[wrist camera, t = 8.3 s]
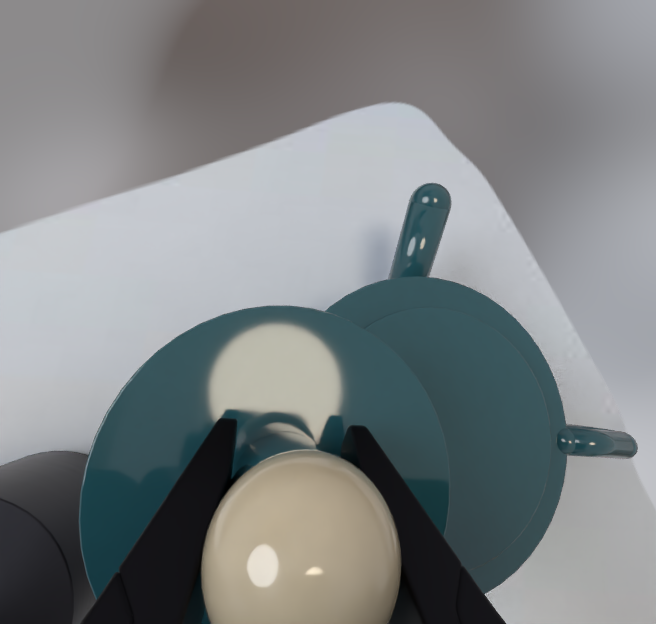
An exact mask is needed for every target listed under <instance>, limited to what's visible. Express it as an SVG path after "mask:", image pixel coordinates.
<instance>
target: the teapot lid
mask: <svg viewBox="0 0 656 624" xmlns="http://www.w3.org/2000/svg"><path fill="white" fill-rule="evenodd" d="M220 418H235V419H237V422H238V423H237V434H236V444H235V453H234V461H233V469H232V477H231V483H230V488H229V490H228V491H227V492H226V494H225V495H224V497H223V498H222V500H221V501H220V503H219V505H218V507H217V509H216V511H215V513H214V515H213V517H212V520H211V522H210V525H209V527H208V530H207V533H206V537H205V541H204V545H203V553H202V560H201V587H202V596H203V602H204V606H205V610H204V614H203V618H202V622H201V624H389V622H390V620H391V617H392V615H393V612H394V609H395V606H396V602H397V598H398V593H399V587H400V580H401V566H402V562H401V548H400V542H399V536H398V531H397V528H396V524H395V521H394V518H393V516H392V513H391V511H390V509H389V507H388V504H387V502H386V500H385V499H384V497H383V495H382V494H381V492H380V491H379V489H378V488H377V487H376V486H375V484H374V483H373V482H372V481H371V480H370V478H369V477H368V476H367V475H366V474H365V473H364V472H362V471H361V470H360V469H359V468H358V467H356V466H355V465H353V464H352V463H350V462H349V461H347V460H345V459H343V458H341V446H342V443H343V440H344V437H345V434H346V431H347V428H348V427H349V426H350V425H362V426H365V427H367V428H368V430H369V431H370V433H371V434H372V435H373V437H374V438H375V440H376V441H377V443H378V444H379V445H380V447H381V448H382V450H383V451H384V453H385V454H386V455H387V457H388V458H389V460H390V461H391V463H392V464H393V465H394V467H395V468H396V470H397V471H398V473H399V474H400V475H401V477H402V478H403V480H404V481H405V483H406V484H407V485H408V487H409V488H410V490H411V491H412V493H413V494H414V495H415V497H416V498H417V500H418V501H419V503H420V504H421V505H422V507H423V508H424V510H425V511H426V513H427V514H428V515H429V517H430V518H431V520H432V521H433V523H434V524H435V525H436V527H437V528H438V530H439V531H440V533H441V534H442V535H443V537H444V536H445V532H446V528H447V522H448V515H449V507H450V482H451V480H450V469H449V458H448V453H447V448H446V443H445V438H444V434H443V431H442V428H441V425H440V422H439V419H438V416H437V413H436V411H435V409H434V407H433V405H432V403H431V400H430V398H429V396H428V394H427V392H426V391H425V389H424V388H423V386H422V384H421V383H420V381H419V380H418V378H417V376H416V375H415V374H414V373H413V371H412V370H411V369H410V368H409V366H408V365H407V364H406V363H405V361H404V360H403V359H402V358H401V357H400V356H399V355H398V354H397V353H396V352H395V351H394V350H393V349H392V348H391V347H389V346H388V345H387V344H386V343H385V342H383V341H382V340H381V339H379V338H378V337H377V336H375V335H374V334H373V333H371V332H370V331H368V330H366V329H364V328H363V327H361V326H359V325H357V324H355V323H354V322H352V321H349V320H347V319H344V318H342V317H339V316H337V315H334V314H331V313H328V312H324V311H320V310H316V309H312V308H305V307H297V306H262V307H255V308H247V309H242V310H238V311H235V312H231V313H227V314H223V315H221V316H218V317H216V318H213V319H211V320H208V321H206V322H203V323H201V324H199V325H197V326H195V327H193V328H192V329H190V330H188V331H186V332H184V333H182V334H181V335H179V336H177V337H176V338H175V339H173V340H172V341H171V342H169V343H168V344H166V345H165V346H164V347H162V348H161V349H160V350H158V351H157V352H156V353H155V354H154V355H153V356H152V357H151V358H150V359H149V360H147V361H146V362H145V363H144V364H143V365H142V366H141V367H140V368H139V369H138V370H137V371H136V373H135V374H134V375H133V376H132V377H131V379H130V380H129V381H128V382H127V383H126V384H125V386H124V387H123V388H122V389H121V391H120V392H119V394H118V396H117V397H116V399H115V400H114V402H113V403H112V405H111V406H110V408H109V409H108V411H107V413H106V415H105V417H104V419H103V421H102V423H101V425H100V427H99V429H98V431H97V433H96V435H95V438H94V441H93V444H92V447H91V450H90V453H89V456H88V459H87V462H86V465H85V470H84V475H83V481H82V486H81V491H80V505H79V532H80V545H81V552H82V557H83V561H84V566H85V570H86V575H87V578H88V581H89V583H90V586H91V589H92V591H93V594H94V596H95V599H96V600H97V599H98V597H99V596H100V594H101V593H102V591H103V590H104V588H105V587H106V585H107V584H108V582H109V581H110V579H111V578H112V576H113V575H114V573H115V572H119V566H120V565H121V563H122V562H123V560H124V559H125V557H126V556H127V554H128V553H129V551H130V550H131V548H132V547H133V545H134V544H135V542H136V541H137V540H138V538H139V537H140V535H141V534H142V532H143V531H144V529H145V528H146V526H147V525H148V523H149V522H150V520H151V519H152V517H153V516H154V514H155V513H156V511H157V510H158V508H159V507H160V505H161V504H162V502H163V501H164V499H165V498H166V496H167V495H168V493H169V492H170V490H171V489H172V487H173V486H174V484H175V483H176V481H177V480H178V478H179V477H180V475H181V474H182V472H183V471H184V470H185V468H186V467H187V465H188V464H189V462H190V461H191V459H192V458H193V456H194V455H195V453H196V452H197V450H198V449H199V447H200V446H201V444H202V443H203V441H204V440H205V438H206V437H207V435H208V434H209V432H210V431H211V429H212V428H213V426H214V425H215V423H216V422H217V421H218V420H219V419H220Z"/></svg>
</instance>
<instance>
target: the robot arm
mask: <svg viewBox="0 0 656 624" xmlns="http://www.w3.org/2000/svg"><path fill="white" fill-rule="evenodd" d="M237 423H238V422H237V419H235V418H220V419H219V420H218V421H217V422H216V423H215V425H214V426H213V428H212V429H211V431H210V432H209V434H208V435H207V437H206V438H205V440H204V441H203V443H202V444H201V446H200V447H199V449H198V450H197V452H196V453H195V455H194V456H193V458H192V459H191V461H190V462H189V464H188V465H187V467H186V468H185V470H184V471H183V472H182V474H181V475H180V477H179V478H178V480H177V481H176V483H175V484H174V486H173V487H172V489H171V490H170V492H169V493H168V495H167V496H166V498H165V499H164V501H163V502H162V504H161V505H160V507H159V508H158V510H157V511H156V513H155V514H154V516H153V517H152V519H151V520H150V522H149V523H148V525H147V526H146V528H145V529H144V531H143V532H142V534H141V535H140V537H139V538H138V540H137V541H136V542H135V544H134V545H133V547H132V548H131V550H130V551H129V553H128V554H127V556H126V557H125V559H124V560H123V562H122V563H121V565H120V566H119V572H115V573H114V575H113V576H112V578H111V579H110V581H109V582H108V584H107V585H106V587H105V588H104V590H103V591H102V593H101V594H100V596H99V597H98V599H97V600H96V601H95V603H94V604H93V606H92V607H91V608H90V610H89V611H88V613H87V614H86V615H85V617H84V618H83V620H82V621H81V623H80V624H201V622H202V618H203V614H204V610H205V606H204V602H203V596H202V587H201V560H202V553H203V545H204V541H205V537H206V533H207V530H208V527H209V525H210V522H211V520H212V517H213V515H214V513H215V511H216V509H217V507H218V505H219V503H220V501H221V500H222V498H223V497H224V495H225V494H226V492H227V491H228V490H229V488H230V483H231V477H232V469H233V461H234V453H235V444H236V434H237ZM341 458H343V459H345V460H347V461H349V462H350V463H352V464H353V465H355V466H356V467H358V468H359V469H360V470H361V471H362V472H364V473H365V474H366V475H367V476H368V477H369V478H370V480H371V481H372V482H373V483H374V484H375V486H376V487H377V488H378V489H379V491H380V492H381V494H382V495H383V497H384V499H385V500H386V502H387V504H388V507H389V509H390V511H391V513H392V516H393V518H394V521H395V524H396V528H397V531H398V536H399V542H400V548H401V562H402V566H401V580H400V587H399V593H398V598H397V602H396V606H395V609H394V612H393V615H392V617H391V620H390V622H389V624H506V623H505V621H504V620H503V619H502V618H501V616H500V615H499V614H498V612H497V611H496V610H495V608H494V607H493V606H492V604H491V603H490V602H489V600H488V599H487V597H486V596H485V595H484V593H483V592H482V591H481V589H480V588H479V587H478V585H477V584H476V582H475V581H474V579H473V578H472V577H471V575H470V574H469V572H468V571H467V569H466V568H465V567H464V566H462V563H461V561H460V560H459V558H458V557H457V555H456V554H455V553H454V551H453V550H452V548H451V547H450V545H449V544H448V543H447V541H446V540H445V538H444V537H443V535H442V534H441V533H440V531H439V530H438V528H437V527H436V525H435V524H434V523H433V521H432V520H431V518H430V517H429V515H428V514H427V513H426V511H425V510H424V508H423V507H422V505H421V504H420V503H419V501H418V500H417V498H416V497H415V495H414V494H413V493H412V491H411V490H410V488H409V487H408V485H407V484H406V483H405V481H404V480H403V478H402V477H401V475H400V474H399V473H398V471H397V470H396V468H395V467H394V465H393V464H392V463H391V461H390V460H389V458H388V457H387V455H386V454H385V453H384V451H383V450H382V448H381V447H380V445H379V444H378V443H377V441H376V440H375V438H374V437H373V435H372V434H371V433H370V431H369V430H368V428H367V427H365V426H362V425H350V426H349V427H348V428H347V431H346V434H345V437H344V440H343V443H342V446H341Z"/></svg>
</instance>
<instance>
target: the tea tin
mask: <svg viewBox="0 0 656 624" xmlns="http://www.w3.org/2000/svg"><path fill="white" fill-rule="evenodd" d="M87 459H88V456H87V455H84V454H80V453H76V452H68V451H51V452H43V453H38V454H34V455H30V456H27V457H24V458H21V459H18V460H15V461H12V462H10V463H7V464H4V465H1V466H0V624H80V623H81V621H82V620H83V618H84V617H85V615H86V614H87V613H88V611H89V610H90V608H91V607H92V606H93V604H94V603H95V601H96V599H95V596H94V594H93V591H92V589H91V586H90V583H89V581H88V578H87V575H86V570H85V566H84V561H83V557H82V552H81V545H80V532H79V505H80V491H81V486H82V481H83V475H84V470H85V465H86V462H87Z"/></svg>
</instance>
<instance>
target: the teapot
mask: <svg viewBox="0 0 656 624" xmlns="http://www.w3.org/2000/svg"><path fill="white" fill-rule="evenodd" d="M450 209H451V196H450V194H449V192H448V191H447V189H446V188H445V187H443V186H442V185H440V184H437V183H426V184H423V185H421V186H419V187H418V188H417V189H416V190H415V191H414V192H413V194H412V195H411V198H410V200H409V204H408V208H407V211H406V215H405V219H404V222H403V226H402V230H401V233H400V237H399V241H398V244H397V248H396V252H395V255H394V259H393V263H392V266H391V270H390V274H389V277H388V280H383V281H379V282H376V283H374V284H371V285H368V286H365V287H362V288H360V289H358V290H356V291H354V292H352V293H350V294H348V295H346V296H345V297H344V298H342V299H341V300H339V301H338V302H336V303H335V304H333V305H332V306H330V307H329V308H328V309H327V310H326V311H325V312H328V313H331V314H334V315H337V316H339V317H342V318H344V319H347V320H349V321H352V322H354V323H355V324H357V325H359V326H361V327H363V328H364V329H366V330H368V331H370V332H371V333H373V334H374V335H375V336H377V337H378V338H379V339H381V340H382V341H383V342H385V343H386V344H387V345H388V346H389V347H391V348H392V349H393V350H394V351H395V352H396V353H397V354H398V355H399V356H400V357H401V358H402V359H403V360H404V361H405V363H406V364H407V365H408V366H409V368H410V369H411V370H412V371H413V373H414V374H415V375H416V376H417V378H418V380H419V381H420V383H421V384H422V386H423V388H424V389H425V391H426V392H427V394H428V396H429V398H430V400H431V403H432V405H433V407H434V409H435V411H436V413H437V416H438V419H439V422H440V425H441V428H442V431H443V434H444V438H445V443H446V448H447V453H448V458H449V469H450V480H451V482H450V507H449V515H448V522H447V528H446V532H445V536H444V538H445V540H446V541H447V543H448V544H449V545H450V547H451V548H452V550H453V551H454V553H455V554H456V555H457V557H458V558H459V560H460V561H461V563H462V566H464V567H465V568H466V569H467V571H468V572H469V574H470V575H471V577H472V578H473V579H474V581H475V582H476V584H477V585H478V587H479V588H480V589H481V591H482V592H483V593H484V594H485V593H487V592H489V591H490V590H492V589H494V588H495V587H497V586H498V585H500V584H501V583H503V582H504V581H505V580H506V579H507V578H509V577H510V576H511V575H512V574H513V573H515V572H516V571H517V570H518V569H519V568H520V566H521V565H522V564H523V563H524V562H525V561H526V560H527V559H528V558H529V557H530V555H531V554H532V552H533V551H534V550H535V548H536V547H537V545H538V544H539V542H540V541H541V540H542V538H543V536H544V534H545V532H546V530H547V528H548V526H549V525H550V523H551V521H552V518H553V516H554V513H555V510H556V508H557V505H558V502H559V499H560V495H561V491H562V487H563V483H564V477H565V470H566V463H567V455H571V456H586V457H601V458H615V459H629V458H631V457H633V456H634V455H635V454H636V453H637V449H638V447H637V443H636V441H635V440H634V438H633V437H631V436H630V435H629V434H627V433H625V432H620V431H614V430H607V429H600V428H593V427H586V426H579V425H572V424H566V421H565V416H564V410H563V405H562V401H561V397H560V394H559V391H558V387H557V384H556V381H555V379H554V377H553V374H552V372H551V370H550V367H549V365H548V363H547V361H546V360H545V358H544V356H543V354H542V352H541V351H540V349H539V347H538V346H537V345H536V343H535V342H534V340H533V339H532V338H531V336H530V335H529V333H528V332H527V331H526V330H525V329H524V328H523V327H522V326H521V324H520V323H519V322H518V321H517V320H516V319H515V318H514V317H513V316H512V315H510V314H509V313H508V312H507V311H506V310H505V309H504V308H502V307H501V306H500V305H498V304H497V303H495V302H494V301H492V300H491V299H490V298H488V297H487V296H485V295H483V294H481V293H479V292H477V291H475V290H473V289H471V288H469V287H466V286H463V285H460V284H458V283H455V282H451V281H447V280H442V279H438V278H430V277H429V275H430V272H431V269H432V266H433V263H434V260H435V256H436V253H437V250H438V247H439V244H440V241H441V238H442V234H443V231H444V228H445V225H446V222H447V219H448V216H449V212H450Z"/></svg>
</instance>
